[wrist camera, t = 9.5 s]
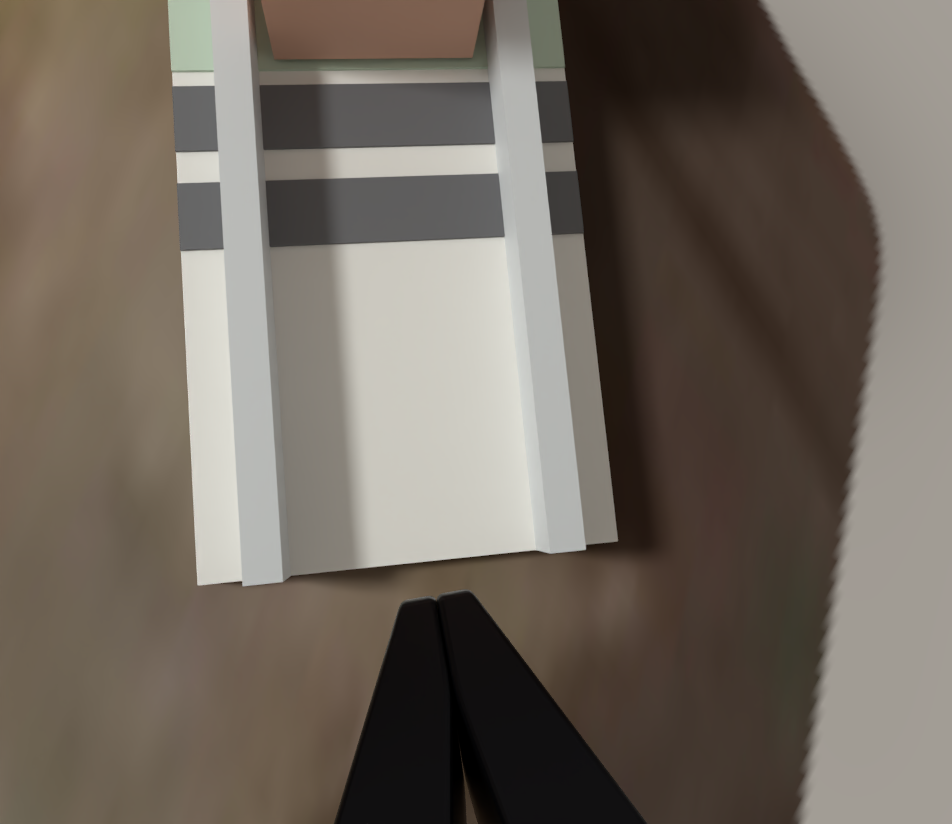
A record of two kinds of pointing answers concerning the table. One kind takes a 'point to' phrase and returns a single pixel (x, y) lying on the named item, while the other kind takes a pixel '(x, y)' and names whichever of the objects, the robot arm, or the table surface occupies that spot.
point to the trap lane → (383, 301)
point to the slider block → (372, 28)
